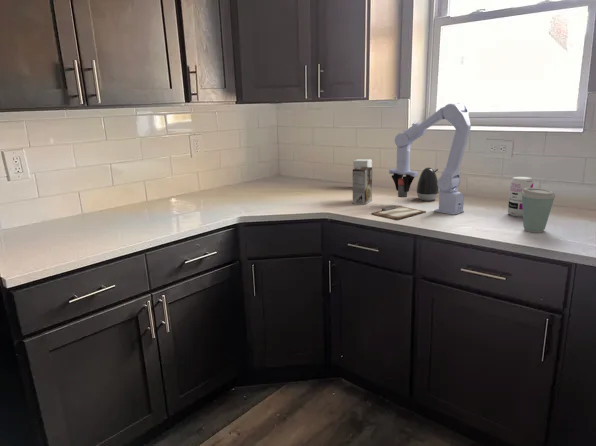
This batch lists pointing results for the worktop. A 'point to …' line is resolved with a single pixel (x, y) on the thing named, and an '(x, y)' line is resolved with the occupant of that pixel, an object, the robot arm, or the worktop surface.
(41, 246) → the worktop surface
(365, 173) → the coffee box
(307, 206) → the worktop surface
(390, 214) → the clipboard
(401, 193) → the marker
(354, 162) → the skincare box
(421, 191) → the pump dispenser
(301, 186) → the worktop surface
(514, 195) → the supplement can
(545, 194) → the disposable coffee cup
